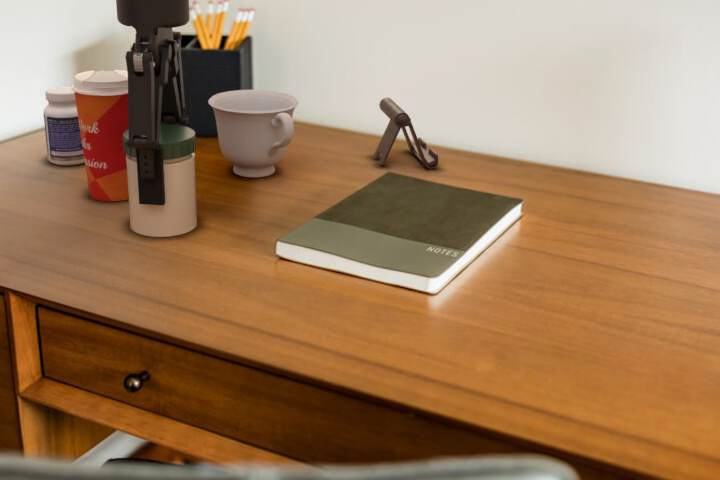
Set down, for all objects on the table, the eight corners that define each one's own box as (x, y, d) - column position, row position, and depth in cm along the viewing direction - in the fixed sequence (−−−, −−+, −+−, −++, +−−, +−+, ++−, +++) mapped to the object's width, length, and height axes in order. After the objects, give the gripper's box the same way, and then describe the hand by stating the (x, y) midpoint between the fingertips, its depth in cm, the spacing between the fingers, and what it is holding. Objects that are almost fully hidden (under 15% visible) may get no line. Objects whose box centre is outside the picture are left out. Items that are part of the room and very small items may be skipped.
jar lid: (116, 143, 103) (115, 127, 102) (185, 136, 106) (184, 121, 105) (132, 163, 96) (131, 146, 95) (205, 156, 100) (204, 139, 99)
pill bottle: (99, 161, 125) (93, 90, 122) (61, 169, 121) (54, 96, 118) (77, 151, 129) (71, 83, 125) (40, 159, 125) (33, 88, 121)
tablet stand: (438, 169, 128) (442, 112, 124) (384, 171, 126) (387, 113, 123) (420, 151, 135) (424, 96, 132) (369, 153, 134) (372, 97, 131)
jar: (127, 238, 101) (121, 151, 97) (132, 213, 108) (127, 131, 104) (196, 236, 102) (193, 150, 98) (197, 212, 109) (194, 131, 105)
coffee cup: (79, 185, 116) (69, 69, 110) (144, 180, 118) (137, 67, 113) (81, 207, 109) (71, 84, 103) (151, 202, 111) (144, 82, 105)
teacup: (250, 197, 114) (249, 121, 110) (194, 166, 125) (191, 95, 121) (327, 181, 121) (329, 109, 117) (267, 153, 132) (267, 85, 128)
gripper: (143, -27, 104) (153, 161, 113) (83, -3, 85) (101, 221, 94) (208, -24, 104) (213, 164, 112) (162, 0, 85) (172, 225, 93)
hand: (162, 190), depth 103 cm, fingers closed on jar lid, 8 cm apart
